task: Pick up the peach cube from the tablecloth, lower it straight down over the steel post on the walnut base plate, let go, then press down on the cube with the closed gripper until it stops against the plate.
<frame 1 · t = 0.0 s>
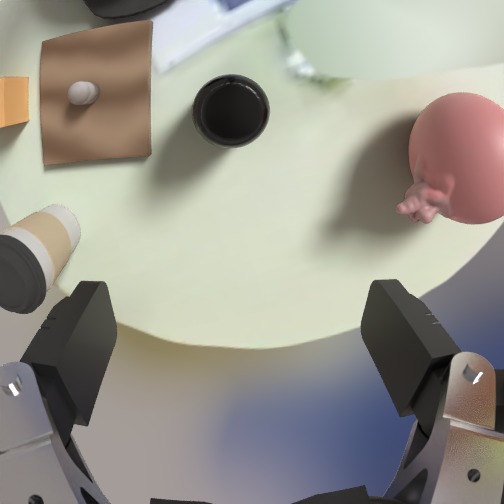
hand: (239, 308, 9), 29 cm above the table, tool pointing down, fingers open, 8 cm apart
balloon: (421, 151, 37), on the table
supplement bottle: (229, 109, 34), on the table
post stand: (94, 93, 31), on the table
peach cube: (11, 103, 29), on the table
coffee cup: (60, 227, 38), on the table
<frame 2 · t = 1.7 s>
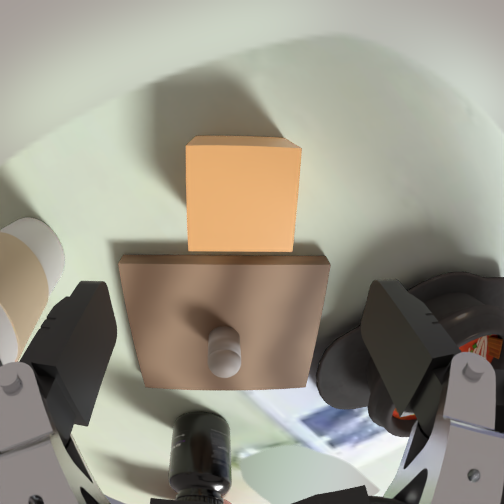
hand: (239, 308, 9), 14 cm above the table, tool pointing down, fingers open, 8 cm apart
supplement bottle: (201, 424, 35), on the table
casserole: (419, 336, 31), on the table
post stand: (224, 327, 28), on the table
peach cube: (239, 178, 22), on the table
coffee cup: (34, 252, 24), on the table
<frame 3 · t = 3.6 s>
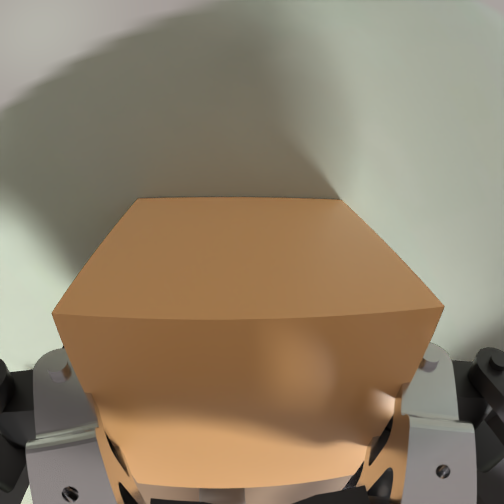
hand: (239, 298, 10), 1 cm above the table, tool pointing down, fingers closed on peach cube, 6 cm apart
casserole: (472, 429, 19), on the table
post stand: (221, 465, 16), on the table
peach cube: (239, 287, 10), on the table, touching gripper
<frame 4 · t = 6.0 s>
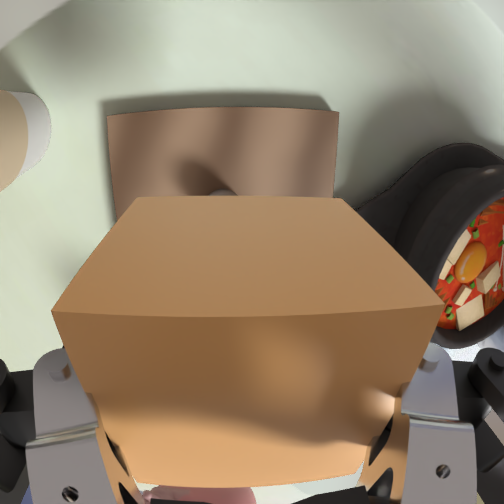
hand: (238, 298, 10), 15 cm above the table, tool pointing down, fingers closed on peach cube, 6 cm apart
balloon: (196, 460, 42), on the table
casserole: (443, 232, 27), on the table
post stand: (223, 200, 24), on the table
peach cube: (238, 286, 10), point 15 cm above the table, touching gripper
coffee cup: (20, 132, 20), on the table
when the fingers open (3 cm above the table, at t = 8.7 s): peach cube stays where it is, resting on post stand.
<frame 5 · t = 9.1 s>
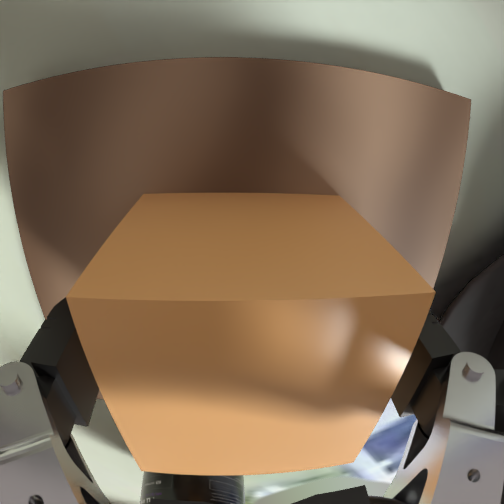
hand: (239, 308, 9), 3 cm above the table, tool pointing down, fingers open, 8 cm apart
supplement bottle: (193, 456, 19), on the table
post stand: (236, 259, 12), on the table
peach cube: (240, 280, 11), point 1 cm above the table, touching post stand
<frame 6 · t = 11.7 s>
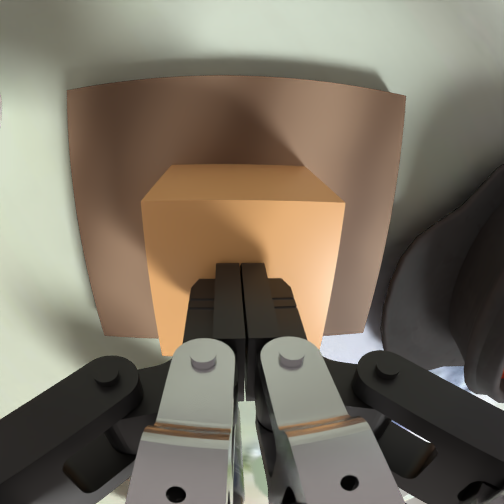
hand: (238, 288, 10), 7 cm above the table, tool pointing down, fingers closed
supplement bottle: (197, 405, 24), on the table
casserole: (501, 259, 20), on the table
post stand: (234, 215, 17), on the table
peach cube: (237, 226, 15), point 1 cm above the table, touching gripper, post stand
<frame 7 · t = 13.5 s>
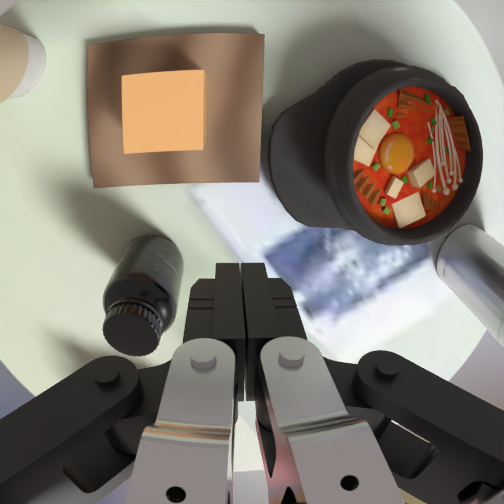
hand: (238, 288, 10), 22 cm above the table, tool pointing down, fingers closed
supplement bottle: (153, 260, 34), on the table
casserole: (380, 146, 31), on the table
post stand: (173, 108, 27), on the table
peach cube: (172, 108, 26), point 1 cm above the table, touching post stand
coffee cup: (21, 66, 22), on the table
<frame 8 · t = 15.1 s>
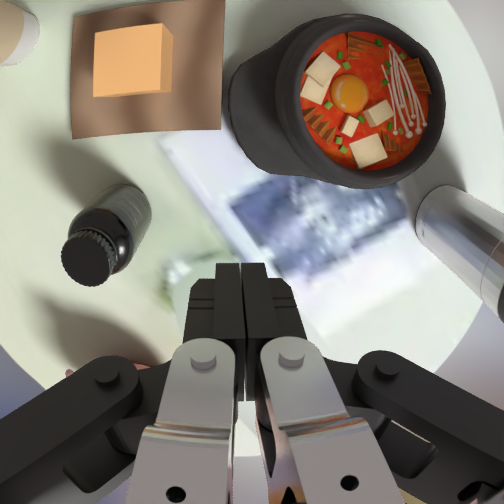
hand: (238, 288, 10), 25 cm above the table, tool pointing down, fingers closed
supplement bottle: (124, 211, 35), on the table
casserole: (344, 99, 31), on the table
post stand: (145, 67, 28), on the table
peach cube: (142, 65, 26), point 1 cm above the table, touching post stand
coffee cup: (18, 39, 23), on the table
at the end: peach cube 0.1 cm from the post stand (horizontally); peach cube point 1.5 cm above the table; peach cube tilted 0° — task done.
